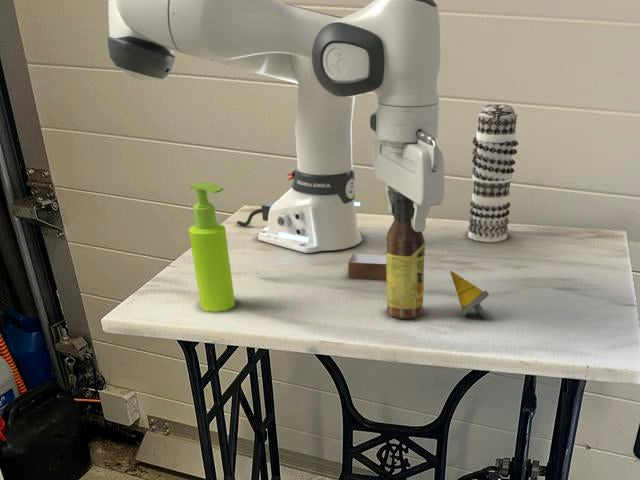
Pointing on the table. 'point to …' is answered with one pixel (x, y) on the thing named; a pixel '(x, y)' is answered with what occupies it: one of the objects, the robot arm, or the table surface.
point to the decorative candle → (492, 173)
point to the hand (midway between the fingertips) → (406, 222)
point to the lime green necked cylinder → (210, 253)
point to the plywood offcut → (367, 266)
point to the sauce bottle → (404, 262)
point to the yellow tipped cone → (469, 295)
